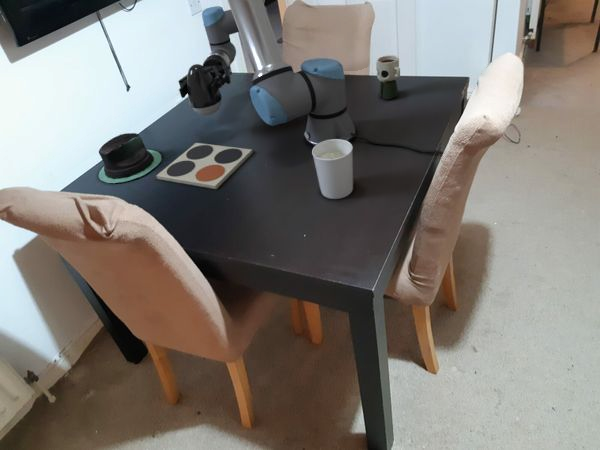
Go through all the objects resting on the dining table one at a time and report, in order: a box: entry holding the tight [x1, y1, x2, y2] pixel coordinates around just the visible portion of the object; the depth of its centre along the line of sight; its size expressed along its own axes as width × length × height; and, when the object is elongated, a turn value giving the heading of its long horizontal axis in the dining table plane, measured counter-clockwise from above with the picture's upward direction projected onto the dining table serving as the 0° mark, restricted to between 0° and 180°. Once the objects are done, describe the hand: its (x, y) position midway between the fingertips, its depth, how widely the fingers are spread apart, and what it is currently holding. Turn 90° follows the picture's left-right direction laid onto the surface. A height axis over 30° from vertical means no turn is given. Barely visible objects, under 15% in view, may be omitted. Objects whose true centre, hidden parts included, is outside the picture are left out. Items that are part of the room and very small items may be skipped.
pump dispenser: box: [187, 63, 222, 116], centre depth 136 cm, size 10×10×15 cm
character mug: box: [375, 55, 401, 100], centre depth 147 cm, size 11×7×13 cm, turn 34°
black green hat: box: [98, 132, 162, 184], centre depth 138 cm, size 15×19×20 cm
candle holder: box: [311, 139, 354, 200], centre depth 109 cm, size 10×10×12 cm
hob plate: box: [155, 142, 254, 190], centre depth 133 cm, size 22×20×1 cm
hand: (197, 92), depth 133 cm, fingers closed on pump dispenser, 9 cm apart
